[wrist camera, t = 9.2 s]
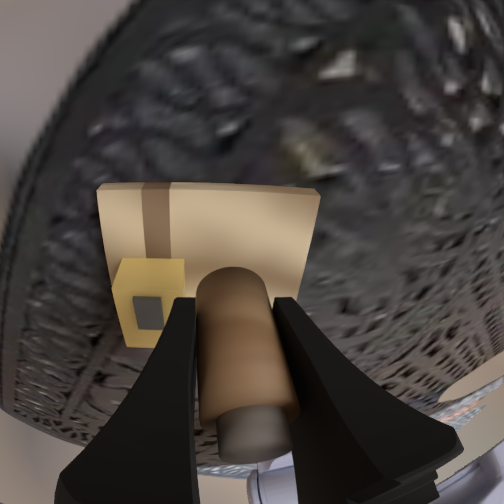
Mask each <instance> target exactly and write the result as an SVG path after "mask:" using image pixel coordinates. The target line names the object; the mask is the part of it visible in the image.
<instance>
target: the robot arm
mask: <svg viewBox="0 0 504 504" xmlns="http://www.w3.org/2000/svg"><path fill="white" fill-rule="evenodd" d="M272 311H273V314H274V318H275V321H276V324H277V328H278V331H279V335H280V338H281V342H282V345H283V349H284V352H285V356H286V359H287V363H288V366H289V370H290V373H291V377H292V380H293V384H294V387H295V391H296V394H297V398H298V401H299V405H300V409H301V410H300V414H299V416H298V417H297V418H296V419H295V420H294V421H293V422H292V423H290V424H289V429H290V433H291V437H292V441H293V445H294V448H293V450H292V451H290V452H289V453H288V454H286V455H284V456H281V457H279V458H276V459H273V460H269V461H264V462H259V463H257V468H258V469H255V470H252V472H251V474H250V475H249V476H248V478H247V495H248V501H249V504H504V439H503V440H502V441H500V442H499V443H498V444H496V445H495V446H494V447H492V448H491V449H490V450H489V451H487V452H486V453H485V454H483V455H482V456H479V457H478V458H476V459H475V460H473V461H472V462H470V463H469V464H467V465H466V466H464V467H463V468H462V469H460V470H458V471H457V472H455V474H454V475H452V476H450V477H449V478H447V479H446V480H444V481H442V482H440V483H439V484H437V485H435V483H434V480H435V479H437V478H438V475H437V472H436V469H438V468H440V467H441V466H443V465H445V464H446V463H448V462H449V461H451V460H452V459H454V458H456V457H457V456H458V455H460V454H461V453H462V452H463V450H464V448H463V446H462V444H461V441H460V439H459V437H458V435H457V433H456V431H455V429H454V428H453V427H451V426H449V425H447V424H444V423H442V422H440V421H437V420H435V419H433V418H431V417H429V416H427V415H425V414H423V413H421V412H419V411H417V410H416V409H414V408H412V407H410V406H409V405H407V404H405V403H404V402H402V401H400V400H399V399H397V398H396V397H395V396H393V395H392V394H390V393H389V392H387V391H386V390H384V389H383V388H382V387H380V386H379V385H378V384H376V383H375V382H374V381H372V380H371V379H370V378H369V377H368V376H366V375H365V374H364V373H363V372H362V371H360V370H359V369H358V368H357V367H356V366H355V365H354V364H352V363H351V362H350V361H349V360H348V359H347V358H346V357H345V356H344V355H343V354H342V353H341V352H340V351H339V350H338V349H337V348H336V347H335V346H334V345H333V344H332V342H331V341H330V340H329V339H328V338H327V337H326V336H325V335H324V334H323V333H322V332H321V330H320V329H319V328H318V327H317V326H316V325H315V323H314V322H313V321H312V320H311V319H310V318H309V316H308V315H307V314H306V313H305V312H304V310H303V309H302V308H301V307H300V306H299V304H298V303H297V302H296V301H295V300H294V299H293V298H292V297H275V298H274V302H273V307H272ZM196 371H197V353H196V297H176V298H175V299H174V301H173V305H172V308H171V311H170V314H169V317H168V319H167V322H166V324H165V326H164V329H163V331H162V333H161V335H160V337H159V340H158V342H157V344H156V346H155V348H154V350H153V352H152V354H151V356H150V357H149V359H148V361H147V363H146V365H145V367H144V368H143V370H142V372H141V374H140V375H139V377H138V379H137V380H136V382H135V383H134V385H133V387H132V388H131V390H130V391H129V393H128V394H127V396H126V397H125V399H124V400H123V401H122V403H121V404H120V406H119V407H118V408H117V410H116V411H115V413H114V414H113V415H112V417H111V418H110V419H109V420H108V422H107V423H106V424H105V425H104V427H103V428H102V429H101V430H100V431H99V432H98V434H97V435H96V436H95V437H94V438H93V440H92V441H91V442H90V443H89V444H88V445H87V446H86V447H85V449H84V450H83V451H82V452H81V453H80V454H79V455H78V456H77V457H76V458H75V459H74V460H73V461H72V462H71V463H70V464H69V465H68V466H67V467H66V468H65V469H64V470H63V471H62V472H61V473H60V475H59V479H58V482H57V486H56V491H55V499H54V504H200V497H199V488H198V479H197V467H196V455H195V442H194V407H195V388H196ZM0 504H3V503H1V502H0Z"/></svg>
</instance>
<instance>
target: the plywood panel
mask: <svg viewBox="0 0 504 504" xmlns="http://www.w3.org/2000/svg"><path fill="white" fill-rule="evenodd" d="M320 197H321V196H320V195H319V194H318V193H317V191H316V190H315V189H310V188H297V187H284V186H268V185H250V184H227V183H189V182H137V183H103V184H102V185H101V186H100V187H99V188H98V190H97V199H98V208H99V215H100V223H101V230H102V236H103V242H104V248H105V254H106V259H107V265H108V270H109V275H110V279H111V284H112V286H113V283H114V280H115V277H116V274H117V271H118V269H119V266H120V263H121V260H122V258H157V259H184V266H185V295H186V297H196V290H197V287H198V285H199V283H200V281H201V280H202V279H203V278H204V277H205V276H206V275H208V274H209V273H211V272H213V271H215V270H217V269H220V268H224V267H243V268H246V269H249V270H251V271H253V272H255V273H256V274H258V275H259V276H260V277H261V278H262V280H263V281H264V283H265V286H266V290H267V293H268V297H269V300H270V304H271V307H273V302H274V298H275V297H292V298H293V299H294V300H295V301H296V299H297V295H298V291H299V287H300V283H301V279H302V275H303V271H304V267H305V263H306V259H307V255H308V251H309V247H310V242H311V238H312V234H313V229H314V225H315V220H316V216H317V211H318V207H319V202H320Z"/></svg>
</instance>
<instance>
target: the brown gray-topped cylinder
mask: <svg viewBox="0 0 504 504" xmlns="http://www.w3.org/2000/svg"><path fill="white" fill-rule="evenodd" d="M196 351H197V379H198V400H199V417H200V425H201V427H202V428H203V429H204V430H206V431H207V432H209V433H212V434H214V435H217V440H218V449H219V457H220V459H221V460H222V461H225V462H228V463H235V464H250V463H259V462H264V461H269V460H273V459H276V458H279V457H281V456H284V455H286V454H288V453H289V452H290V451H292V450H293V448H294V445H293V441H292V437H291V433H290V429H289V424H290V423H292V422H293V421H294V420H295V419H296V418H297V417H298V416H299V414H300V410H301V409H300V405H299V401H298V398H297V394H296V391H295V387H294V384H293V380H292V377H291V373H290V370H289V366H288V363H287V359H286V356H285V352H284V349H283V345H282V342H281V338H280V335H279V331H278V328H277V324H276V321H275V318H274V314H273V311H272V307H271V304H270V300H269V297H268V293H267V290H266V286H265V283H264V281H263V280H262V278H261V277H260V276H259V275H258V274H256V273H255V272H253V271H251V270H249V269H246V268H243V267H224V268H220V269H217V270H215V271H213V272H211V273H209V274H208V275H206V276H205V277H204V278H203V279H202V280H201V281H200V283H199V285H198V287H197V290H196Z"/></svg>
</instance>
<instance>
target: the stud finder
mask: <svg viewBox="0 0 504 504" xmlns="http://www.w3.org/2000/svg"><path fill="white" fill-rule="evenodd" d="M112 293H113V297H114V301H115V305H116V309H117V313H118V317H119V321H120V325H121V328H122V332H123V335H124V339H125V342H126V346H127V347H142V348H155V346H156V344H157V342H158V340H159V337H160V335H161V333H162V331H163V329H164V326H165V324H166V322H167V319H168V317H169V314H170V311H171V308H172V305H173V301H174V299H175V298H176V297H186V295H185V266H184V259H157V258H122V260H121V263H120V266H119V269H118V271H117V274H116V277H115V280H114V283H113V286H112Z"/></svg>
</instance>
